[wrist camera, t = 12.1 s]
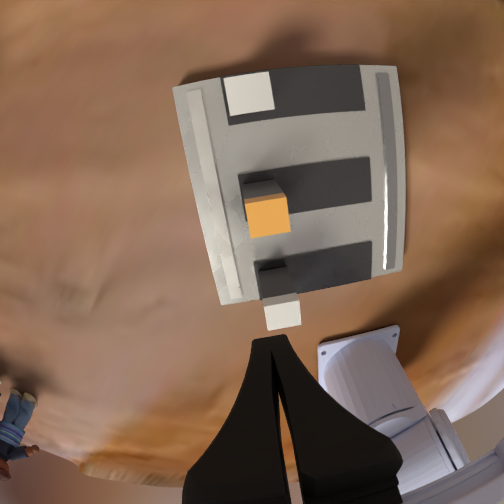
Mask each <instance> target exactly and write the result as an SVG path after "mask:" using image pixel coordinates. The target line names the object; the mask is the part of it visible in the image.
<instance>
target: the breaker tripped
mask: <svg viewBox="0 0 504 504" xmlns="http://www.w3.org/2000/svg"><path fill="white" fill-rule="evenodd" d="M242 190H243V196H244V203H245V209H246V214H247V220H248V225H249V231H250V237H251V238H257V237H263V236H268V235H274V234H280V233H286V232H291V230H290V222H289V214H288V206H287V198H286V196H285V194H284V193H283V191H282V189H281V188H280V186H279V185H278V183H277V182H276V180H275V179H272V180H266V181H260V182H254V183H248V184H242Z"/></svg>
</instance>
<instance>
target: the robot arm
mask: <svg viewBox="0 0 504 504" xmlns="http://www.w3.org/2000/svg"><path fill="white" fill-rule="evenodd" d="M399 333H400V328H399V326H398V325H393V326H390V327H386V328H382V329H378V330H375V331H371V332H367V333H363V334H359V335H355V336H350V337H346V338H342V339H338V340H333V341H329V342H324V343H321V344H319V345H318V382H317V381H316V380H315V379H314V377H313V376H312V375H311V374H310V372H309V371H308V370H307V369H306V367H305V366H304V364H303V363H302V362H301V360H300V359H299V357H298V356H297V354H296V353H295V351H294V350H293V348H292V346H291V344H290V342H289V340H288V338H287V336H286V335H285V334H282V335H276V336H271V337H265V338H259V339H254V340H253V341H252V347H251V354H250V359H249V363H248V367H247V370H246V374H245V377H244V380H243V383H242V386H241V389H240V391H239V394H238V396H237V399H236V401H235V403H234V405H233V408H232V410H231V412H230V414H229V416H228V417H227V419H226V421H225V423H224V424H223V426H222V428H221V430H220V431H219V433H218V434H217V436H216V437H215V439H214V440H213V441H212V443H211V444H210V446H209V447H208V448H207V450H206V451H205V452H204V454H203V455H202V456H201V457H200V458H199V460H198V461H197V462H196V463H195V464H194V465H193V466H192V467H191V469H190V470H189V471H188V472H187V475H186V479H185V482H184V486H183V492H182V504H291V498H290V492H289V486H288V479H287V473H286V467H285V461H284V455H283V448H282V441H281V428H280V411H279V395H280V399H281V402H282V406H283V409H284V413H285V417H286V420H287V424H288V427H289V431H290V434H291V439H292V443H293V449H294V454H295V460H296V466H297V472H298V477H299V483H300V489H301V495H302V500H303V504H497V503H499V502H500V501H502V500H503V499H504V438H503V439H502V440H501V441H500V442H499V443H498V444H497V445H496V447H495V448H494V449H493V450H491V451H490V452H488V453H486V454H485V455H483V456H481V457H480V458H478V459H476V460H474V461H473V462H471V463H470V459H469V457H468V455H467V453H466V451H465V449H464V447H463V445H462V443H461V441H460V439H459V437H458V435H457V433H456V431H455V430H454V428H453V426H452V424H451V422H450V420H449V418H448V417H447V415H446V413H445V411H444V410H441V409H438V410H437V408H433V409H432V410H430V411H429V413H430V415H431V416H430V415H429V413H428V412H427V410H426V409H425V407H424V406H423V404H422V402H421V401H420V399H419V397H418V395H417V393H416V391H415V389H414V388H413V386H412V384H411V382H410V380H409V378H408V377H407V375H406V373H405V371H404V369H403V368H402V366H401V364H400V362H399V361H398V359H397V357H396V355H395V354H396V349H397V344H398V338H399ZM393 334H394V335H393ZM323 351H325V352H323ZM278 392H279V395H278ZM431 417H432V418H431Z"/></svg>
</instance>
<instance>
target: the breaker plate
mask: <svg viewBox="0 0 504 504" xmlns="http://www.w3.org/2000/svg"><path fill="white" fill-rule="evenodd" d="M261 72H269V77H270V83H271V89H272V95H273V101H274V107H275V109H273V110H265V111H258V112H252V113H245V114H239V115H233V116H230V112H229V106H228V101H227V95H226V89H225V84H224V78H227V77H233V76H240V75H246V74H253V73H261ZM172 89H173V94H174V99H175V105H176V110H177V115H178V120H179V125H180V130H181V135H182V140H183V145H184V150H185V154H186V159H187V164H188V169H189V173H190V178H191V182H192V187H193V191H194V196H195V200H196V205H197V209H198V213H199V218H200V222H201V226H202V230H203V234H204V239H205V243H206V247H207V251H208V255H209V259H210V263H211V267H212V271H213V275H214V279H215V283H216V287H217V291H218V294H219V298H220V302H221V305H226V304H232V303H239V302H245V301H250V300H256V299H260V300H263V299H262V293H261V287H260V281H259V275H258V272H259V271H265V270H271V269H277V268H282V267H288V270H289V273H290V275H291V278H292V281H293V284H294V287H295V290H296V293H297V294H299V293H304V292H309V291H314V290H320V289H325V288H330V287H335V286H340V285H344V284H349V283H354V282H359V281H363V280H368V279H371V277H375V276H379V275H384V274H388V273H393V272H397V271H401V270H402V264H403V251H404V234H405V202H406V178H405V147H404V130H403V118H402V107H401V97H400V89H399V81H398V74H397V67H396V66H382V65H319V66H302V67H290V68H279V69H270V70H262V71H254V72H247V73H240V74H234V75H228V76H222V77H219V78H214V79H208V80H203V81H199V82H194V83H189V84H185V85H181V86H176V87H172ZM272 179H275V180H276V182H277V183H278V185H279V186H280V188H281V189H282V191H283V193H284V194H285V196H286V198H287V206H288V214H289V222H290V230H291V232H286V233H280V234H274V235H268V236H263V237H257V238H251V237H250V231H249V225H248V220H247V214H246V209H245V203H244V196H243V190H242V184H248V183H254V182H260V181H266V180H272Z"/></svg>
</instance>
